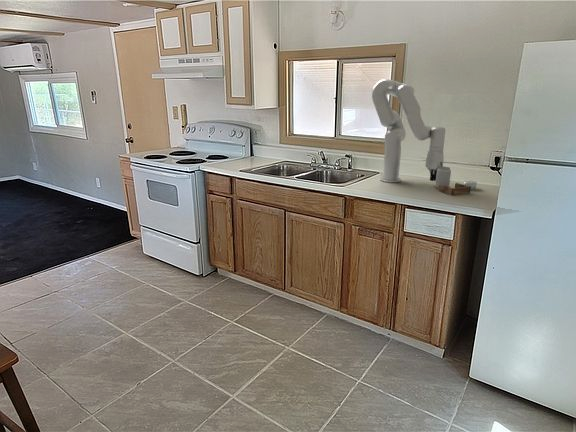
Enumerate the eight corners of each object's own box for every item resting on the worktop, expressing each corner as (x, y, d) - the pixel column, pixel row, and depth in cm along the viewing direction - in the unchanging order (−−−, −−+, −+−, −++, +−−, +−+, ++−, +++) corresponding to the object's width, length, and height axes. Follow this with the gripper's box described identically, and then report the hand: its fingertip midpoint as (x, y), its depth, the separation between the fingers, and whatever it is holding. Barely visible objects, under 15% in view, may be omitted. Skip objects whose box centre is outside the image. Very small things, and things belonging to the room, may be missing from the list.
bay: (438, 190, 217) (439, 184, 216) (456, 188, 221) (457, 182, 220) (451, 195, 208) (452, 189, 207) (469, 193, 212) (470, 186, 211)
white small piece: (459, 188, 223) (460, 181, 222) (468, 187, 226) (469, 180, 224) (469, 190, 217) (470, 183, 216) (478, 189, 219) (479, 182, 218)
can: (438, 185, 228) (440, 165, 224) (451, 188, 223) (453, 167, 219) (432, 188, 223) (434, 167, 219) (445, 190, 218) (447, 169, 214)
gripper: (422, 147, 229) (419, 178, 235) (440, 151, 216) (436, 183, 222) (432, 147, 232) (429, 177, 237) (450, 150, 218) (447, 182, 224)
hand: (432, 180), depth 229 cm, fingers closed
